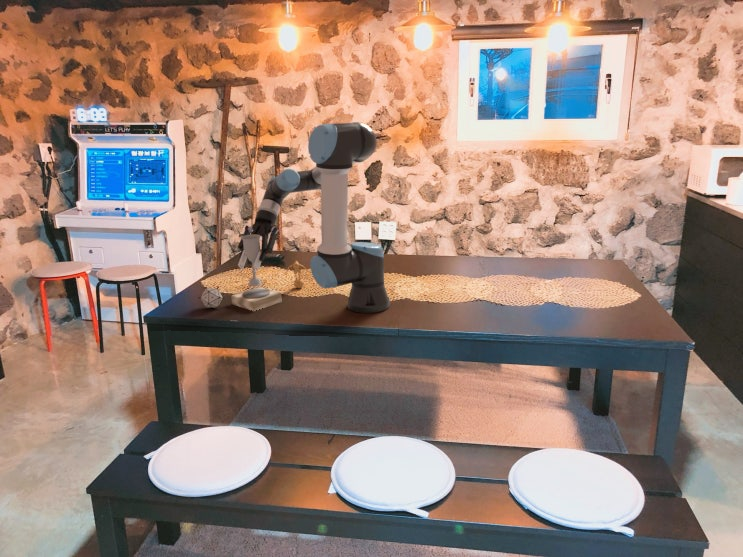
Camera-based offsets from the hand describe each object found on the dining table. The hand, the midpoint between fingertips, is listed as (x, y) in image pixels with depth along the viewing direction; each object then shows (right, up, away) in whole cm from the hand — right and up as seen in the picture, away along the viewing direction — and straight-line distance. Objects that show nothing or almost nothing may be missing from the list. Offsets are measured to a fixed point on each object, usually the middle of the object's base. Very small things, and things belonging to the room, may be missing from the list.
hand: (248, 267), depth 214 cm
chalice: (+1, -6, +5) cm, 8 cm away
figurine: (+15, -8, +22) cm, 29 cm away
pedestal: (+2, -13, +7) cm, 15 cm away
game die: (-14, -15, +3) cm, 20 cm away
